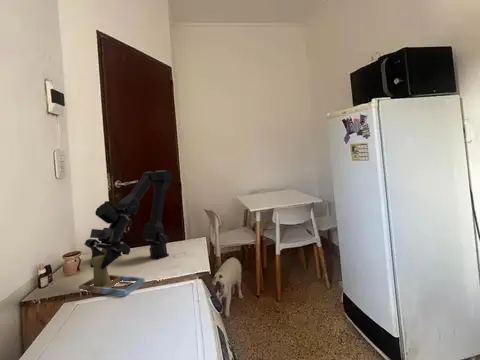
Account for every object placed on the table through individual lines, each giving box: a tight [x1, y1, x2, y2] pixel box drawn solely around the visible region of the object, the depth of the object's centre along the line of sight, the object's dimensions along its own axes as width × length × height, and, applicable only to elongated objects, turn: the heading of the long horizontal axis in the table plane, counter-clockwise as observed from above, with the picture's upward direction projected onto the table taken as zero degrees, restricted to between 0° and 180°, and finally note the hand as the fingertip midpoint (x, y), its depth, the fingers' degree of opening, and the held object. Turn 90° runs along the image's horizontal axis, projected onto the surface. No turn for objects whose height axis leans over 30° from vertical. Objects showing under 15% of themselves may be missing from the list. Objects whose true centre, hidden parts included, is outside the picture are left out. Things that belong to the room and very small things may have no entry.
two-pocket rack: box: [78, 274, 146, 297], centre depth 122 cm, size 20×11×2 cm, turn 68°
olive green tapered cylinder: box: [90, 255, 112, 287], centre depth 124 cm, size 6×6×11 cm
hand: (96, 268), depth 122 cm, fingers closed on olive green tapered cylinder, 5 cm apart
